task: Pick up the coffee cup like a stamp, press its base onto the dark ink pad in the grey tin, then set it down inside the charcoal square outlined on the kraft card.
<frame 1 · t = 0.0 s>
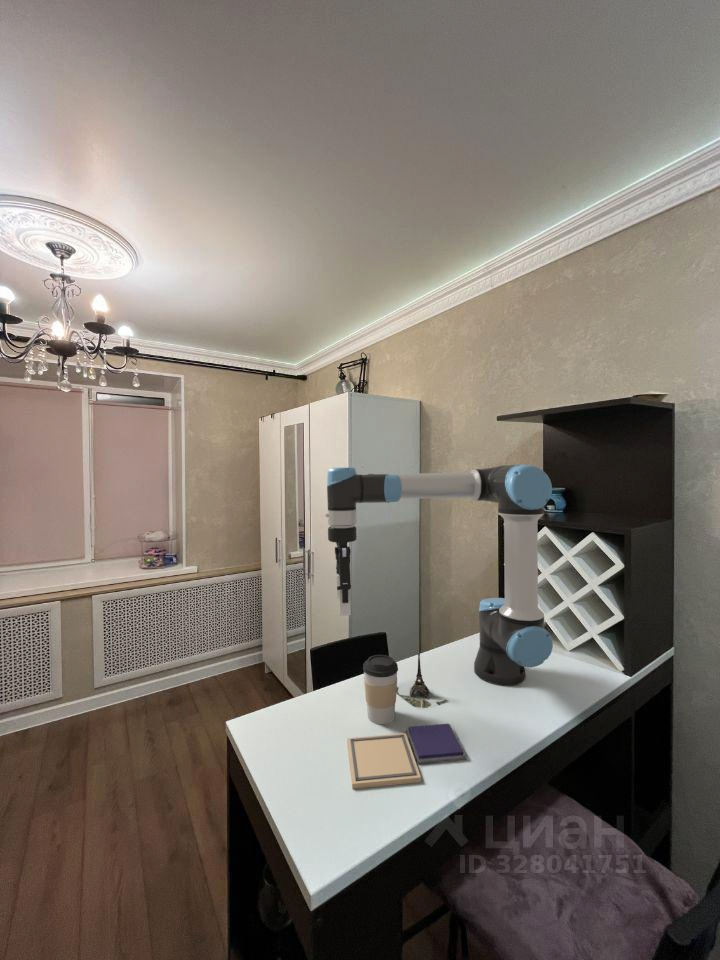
hand: (343, 606, 107), 28 cm above the table, fingers open, 13 cm apart
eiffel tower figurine: (417, 696, 115), on the table
print card: (381, 760, 88), on the table
coffee cup: (381, 716, 104), on the table
ink pad: (434, 745, 93), on the table
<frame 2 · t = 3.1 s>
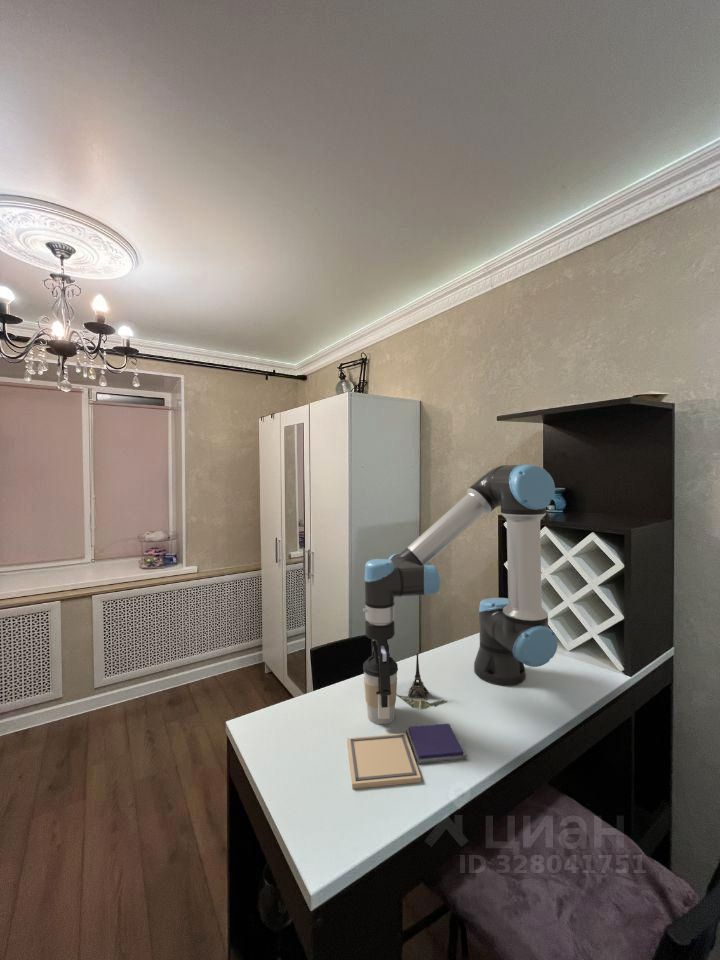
hand: (380, 707, 104), 2 cm above the table, fingers closed on coffee cup, 8 cm apart
coffee cup: (381, 716, 104), on the table, touching gripper
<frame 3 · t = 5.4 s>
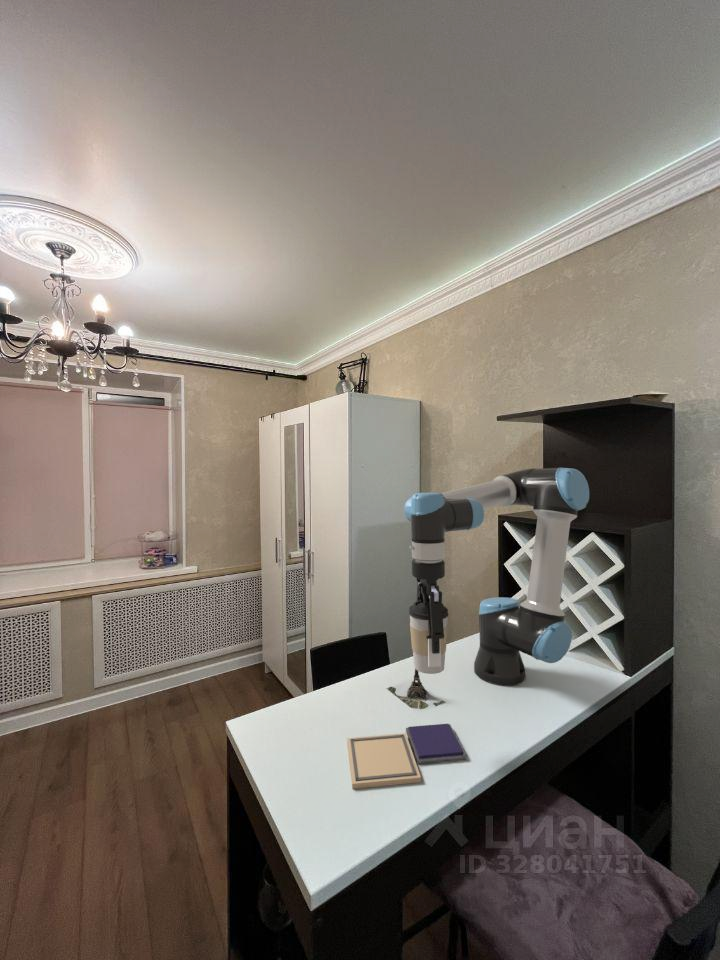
hand: (429, 656, 94), 20 cm above the table, fingers closed on coffee cup, 8 cm apart
coffee cup: (429, 667, 94), point 18 cm above the table, touching gripper
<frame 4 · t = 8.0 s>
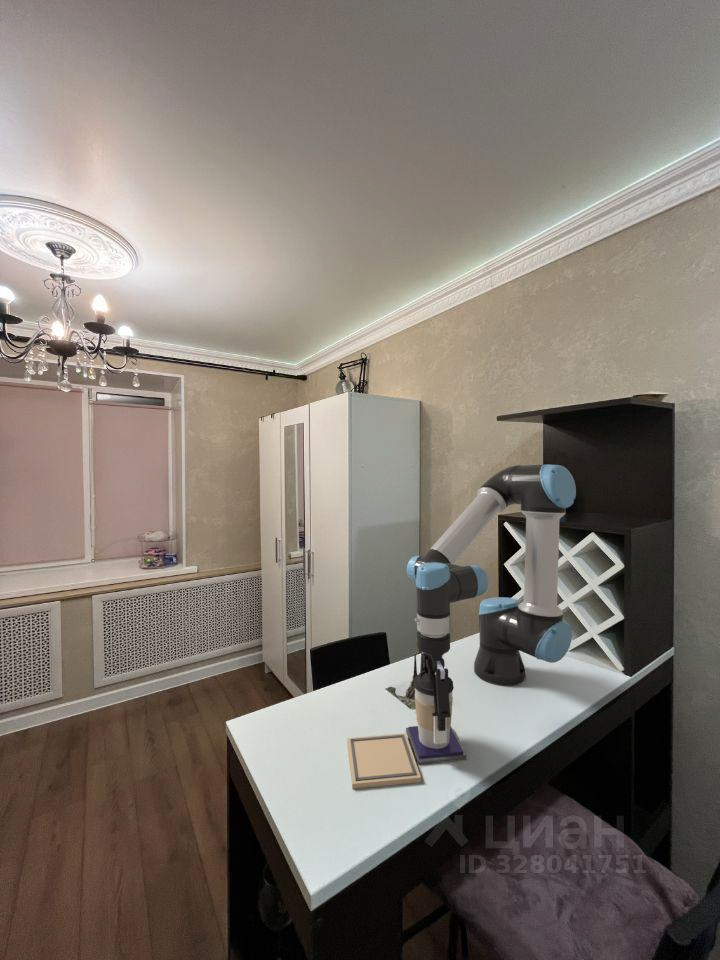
hand: (434, 728, 93), 4 cm above the table, fingers closed on coffee cup, 9 cm apart
coffee cup: (434, 739, 93), point 1 cm above the table, touching gripper, ink pad
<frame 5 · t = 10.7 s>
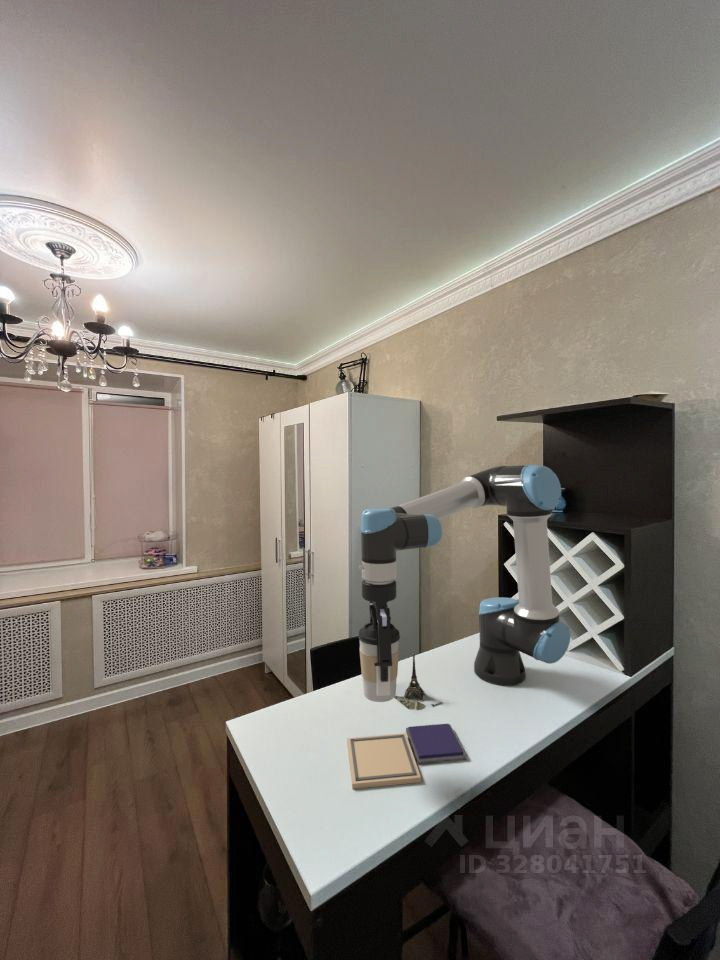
hand: (380, 683, 88), 17 cm above the table, fingers closed on coffee cup, 8 cm apart
coffee cup: (379, 694, 88), point 15 cm above the table, touching gripper
when the fingers open (4 cm above the table, at t = 12.9 s): coffee cup drops 1 cm, resting on print card.
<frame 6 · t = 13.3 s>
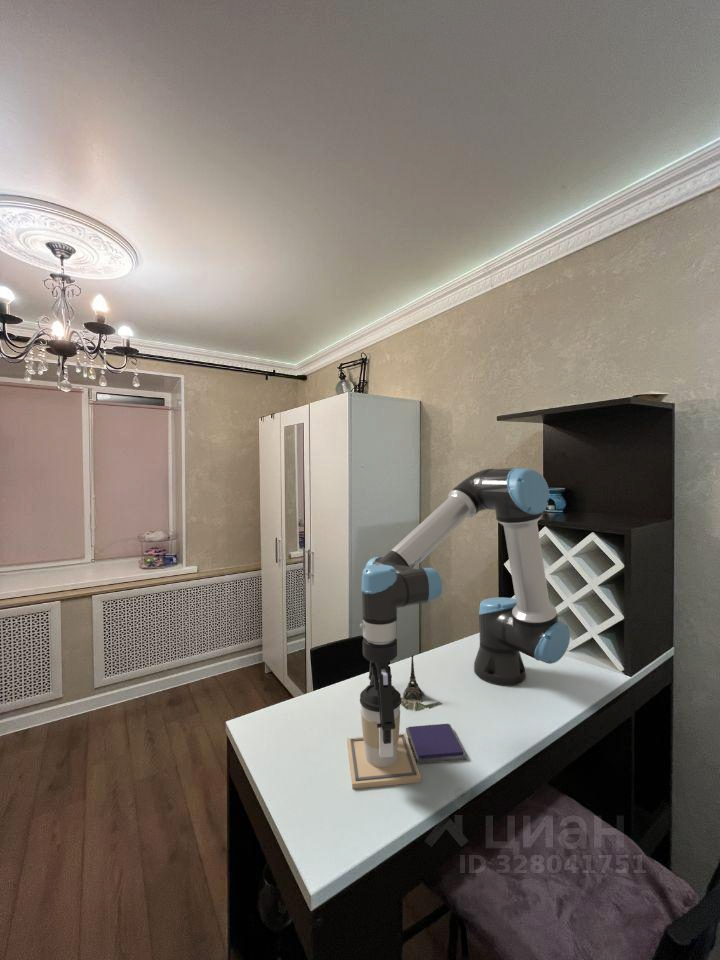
hand: (381, 734, 88), 6 cm above the table, fingers open, 13 cm apart
coffee cup: (381, 757, 88), point 1 cm above the table, touching print card
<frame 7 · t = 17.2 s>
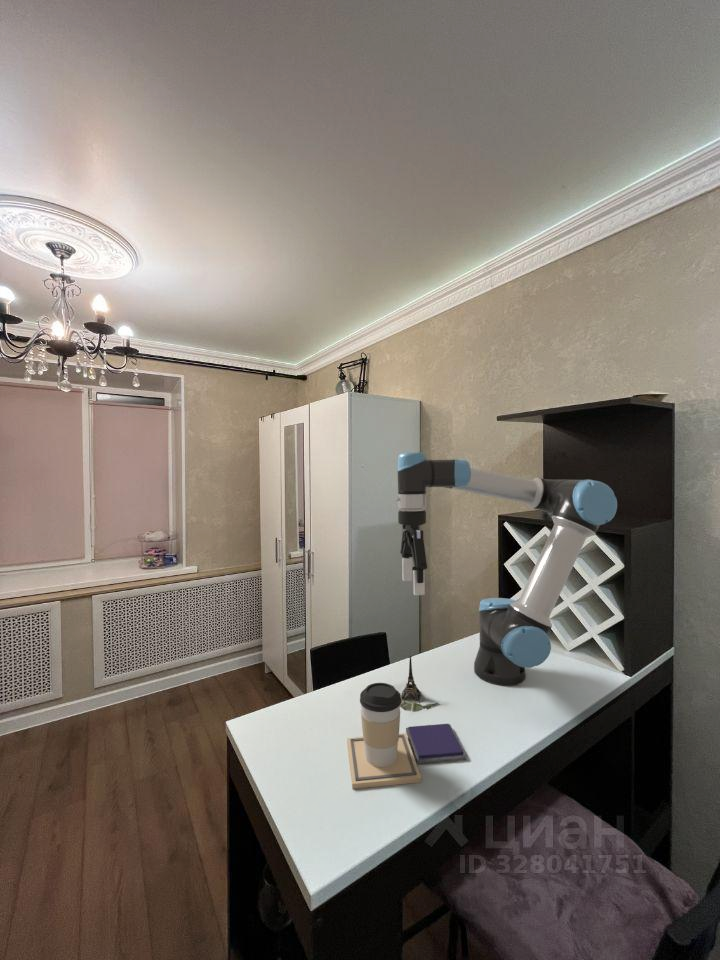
hand: (412, 587, 110), 32 cm above the table, fingers open, 13 cm apart
at the end: coffee cup 0.0 cm off-centre on the print card, point 0.8 cm above the print card's base; coffee cup tilted 0°; coffee cup touching print card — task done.
